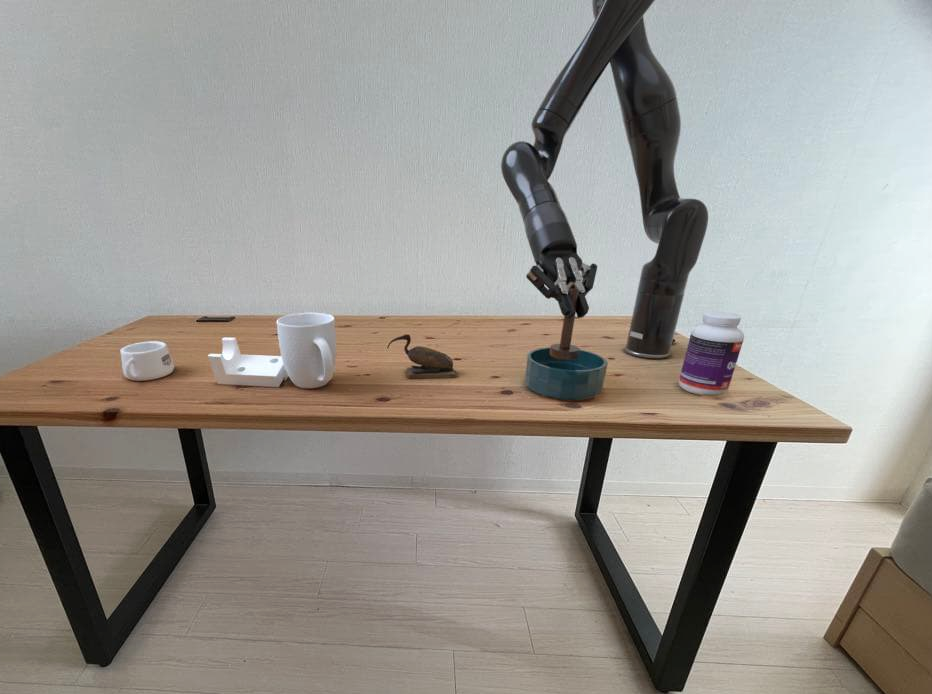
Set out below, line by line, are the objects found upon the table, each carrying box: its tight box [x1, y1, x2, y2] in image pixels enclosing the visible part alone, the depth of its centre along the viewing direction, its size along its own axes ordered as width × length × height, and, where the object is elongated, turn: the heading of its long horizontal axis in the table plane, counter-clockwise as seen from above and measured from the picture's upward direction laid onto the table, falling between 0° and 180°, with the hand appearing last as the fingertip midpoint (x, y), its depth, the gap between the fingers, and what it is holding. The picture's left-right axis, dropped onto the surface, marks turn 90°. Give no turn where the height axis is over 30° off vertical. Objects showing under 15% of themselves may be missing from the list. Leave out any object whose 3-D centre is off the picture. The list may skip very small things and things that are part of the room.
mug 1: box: [120, 340, 175, 382], centre depth 95 cm, size 12×10×6 cm
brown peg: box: [549, 288, 580, 360], centre depth 81 cm, size 5×5×12 cm
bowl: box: [524, 346, 609, 401], centre depth 87 cm, size 14×14×6 cm
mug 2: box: [276, 312, 338, 389], centre depth 88 cm, size 15×11×13 cm
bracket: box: [207, 336, 289, 388], centre depth 92 cm, size 13×7×8 cm, turn 81°
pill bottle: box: [677, 310, 745, 397], centre depth 83 cm, size 8×8×14 cm
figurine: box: [386, 334, 456, 379], centre depth 94 cm, size 14×4×9 cm, turn 93°
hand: (577, 315), depth 78 cm, fingers closed on brown peg
